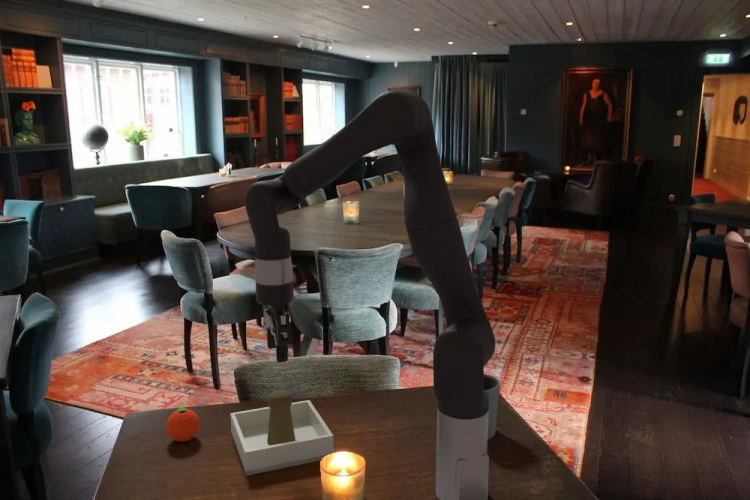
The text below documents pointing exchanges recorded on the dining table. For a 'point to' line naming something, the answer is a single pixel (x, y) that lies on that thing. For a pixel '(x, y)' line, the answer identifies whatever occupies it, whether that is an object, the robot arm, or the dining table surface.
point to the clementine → (183, 424)
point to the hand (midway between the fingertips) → (277, 354)
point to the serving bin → (262, 457)
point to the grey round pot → (492, 402)
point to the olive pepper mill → (280, 418)
